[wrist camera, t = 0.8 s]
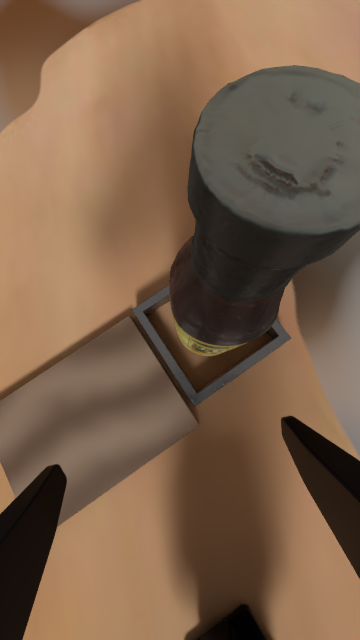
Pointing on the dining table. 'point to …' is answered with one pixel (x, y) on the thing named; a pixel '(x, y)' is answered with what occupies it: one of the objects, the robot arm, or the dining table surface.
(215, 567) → the dining table surface
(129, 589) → the dining table surface
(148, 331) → the grey square frame
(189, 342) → the sauce bottle
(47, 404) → the brown flat slab
